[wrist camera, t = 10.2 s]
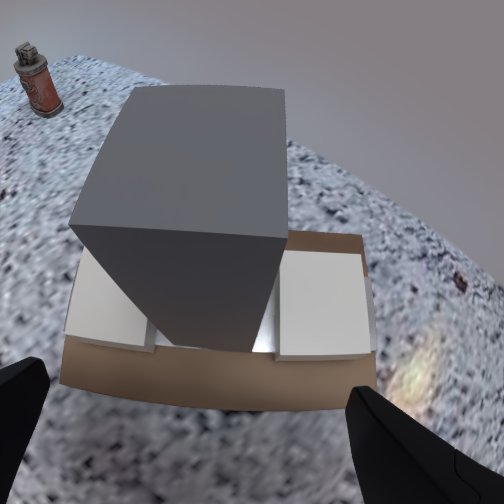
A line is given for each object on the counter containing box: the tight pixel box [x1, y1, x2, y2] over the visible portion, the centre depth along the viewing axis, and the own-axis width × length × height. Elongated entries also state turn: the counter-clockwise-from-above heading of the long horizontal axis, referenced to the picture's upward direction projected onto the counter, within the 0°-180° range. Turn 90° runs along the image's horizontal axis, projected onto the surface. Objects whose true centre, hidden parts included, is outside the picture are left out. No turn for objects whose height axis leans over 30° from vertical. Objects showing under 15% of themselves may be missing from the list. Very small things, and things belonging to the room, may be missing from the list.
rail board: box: [59, 230, 377, 411], centre depth 19 cm, size 12×20×1 cm, turn 88°
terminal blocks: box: [65, 246, 371, 361], centre depth 17 cm, size 6×17×2 cm, turn 88°
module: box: [68, 85, 288, 353], centre depth 13 cm, size 5×4×13 cm
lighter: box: [14, 42, 64, 118], centre depth 25 cm, size 8×3×10 cm, turn 54°
